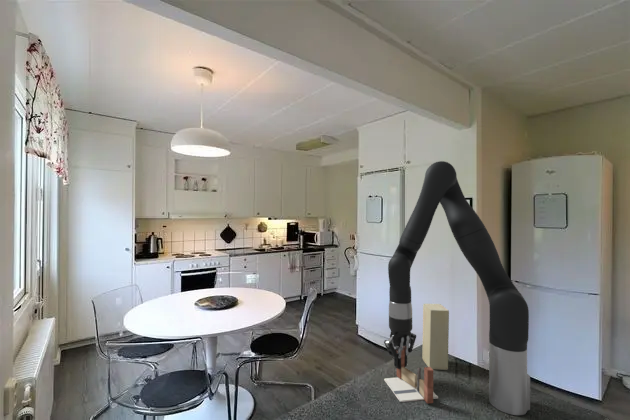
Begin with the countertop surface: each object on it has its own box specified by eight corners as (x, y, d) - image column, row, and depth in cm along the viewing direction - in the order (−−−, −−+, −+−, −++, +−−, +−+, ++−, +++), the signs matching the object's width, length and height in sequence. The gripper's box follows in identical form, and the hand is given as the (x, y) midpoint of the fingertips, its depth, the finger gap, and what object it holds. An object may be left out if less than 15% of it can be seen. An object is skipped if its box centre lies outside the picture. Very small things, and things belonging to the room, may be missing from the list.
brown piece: (420, 390, 93) (420, 358, 93) (433, 404, 86) (433, 370, 86) (415, 391, 93) (415, 359, 93) (427, 405, 86) (427, 370, 86)
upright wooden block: (450, 370, 106) (451, 310, 106) (429, 369, 106) (430, 309, 106) (441, 359, 114) (442, 303, 114) (422, 358, 114) (422, 303, 114)
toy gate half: (418, 386, 94) (418, 357, 94) (413, 387, 93) (414, 358, 93) (400, 374, 101) (400, 347, 101) (396, 375, 100) (396, 348, 100)
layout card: (417, 376, 101) (417, 375, 101) (438, 398, 89) (438, 396, 89) (384, 379, 99) (384, 378, 99) (400, 402, 87) (400, 400, 87)
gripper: (394, 321, 93) (394, 378, 93) (423, 313, 100) (423, 366, 100) (377, 315, 99) (377, 368, 99) (405, 308, 107) (406, 357, 106)
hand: (400, 366), depth 100 cm, fingers closed on toy gate half, 2 cm apart
